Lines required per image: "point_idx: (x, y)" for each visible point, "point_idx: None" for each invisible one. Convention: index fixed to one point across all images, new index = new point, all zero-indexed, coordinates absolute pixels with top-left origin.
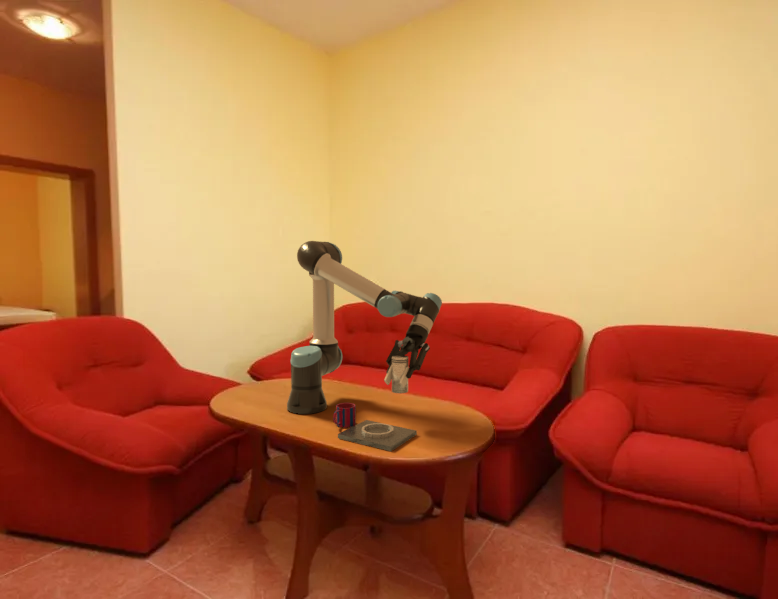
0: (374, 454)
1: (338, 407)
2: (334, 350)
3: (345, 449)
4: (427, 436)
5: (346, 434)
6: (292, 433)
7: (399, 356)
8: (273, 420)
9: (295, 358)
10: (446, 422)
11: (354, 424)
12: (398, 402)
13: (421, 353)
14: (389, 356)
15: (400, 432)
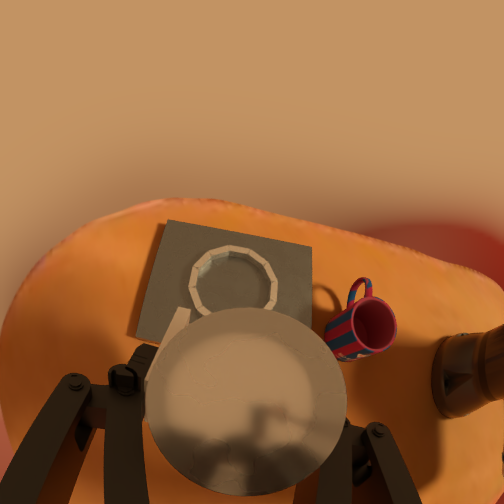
0: (196, 206)
1: (378, 298)
2: None
3: (260, 210)
4: (109, 338)
5: (293, 249)
6: (389, 248)
7: (266, 418)
8: (448, 289)
9: None
10: (95, 459)
11: (325, 338)
12: None
13: (14, 478)
14: (396, 464)
15: (173, 307)
